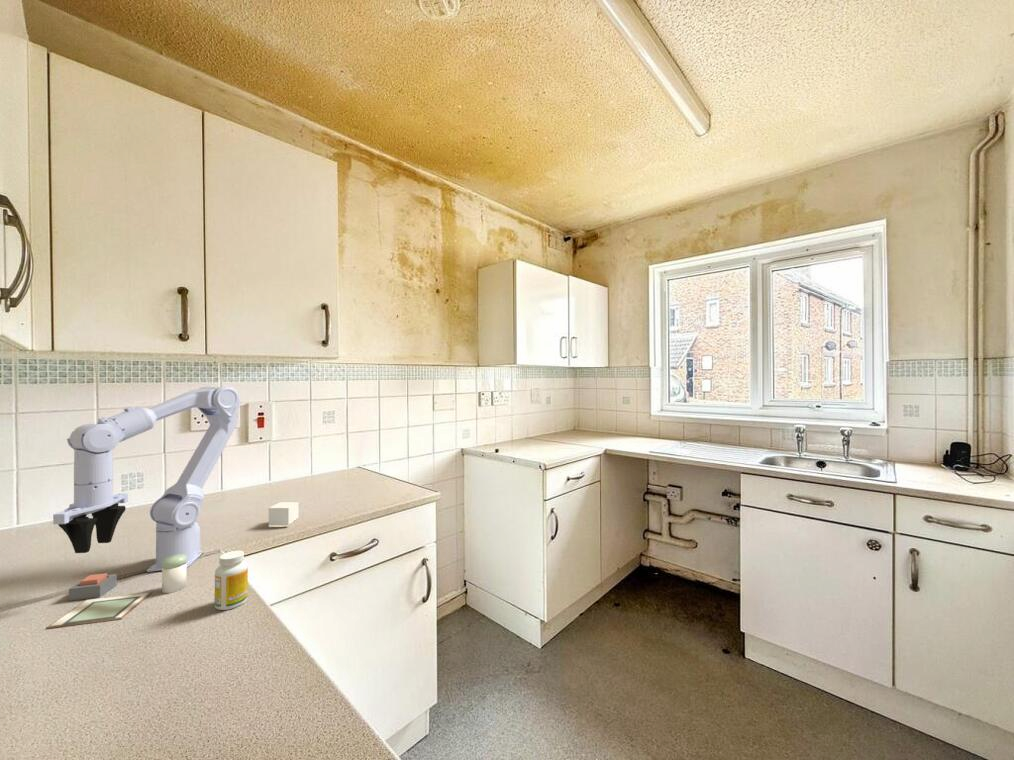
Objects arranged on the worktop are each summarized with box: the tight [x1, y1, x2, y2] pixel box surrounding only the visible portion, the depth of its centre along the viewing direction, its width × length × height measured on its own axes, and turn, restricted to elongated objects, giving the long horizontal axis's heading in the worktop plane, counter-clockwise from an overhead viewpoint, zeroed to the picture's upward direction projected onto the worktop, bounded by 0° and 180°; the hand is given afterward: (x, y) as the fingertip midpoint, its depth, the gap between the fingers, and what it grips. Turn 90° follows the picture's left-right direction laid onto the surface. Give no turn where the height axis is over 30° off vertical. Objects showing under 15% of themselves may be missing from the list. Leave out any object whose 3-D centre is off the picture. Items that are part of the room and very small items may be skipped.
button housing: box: [68, 573, 118, 602], centre depth 84 cm, size 5×5×2 cm
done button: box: [79, 572, 108, 586], centre depth 84 cm, size 3×3×1 cm
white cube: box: [268, 501, 300, 526], centre depth 125 cm, size 6×6×6 cm
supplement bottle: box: [214, 550, 249, 611], centre depth 80 cm, size 5×5×10 cm
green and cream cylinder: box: [161, 554, 187, 594], centre depth 86 cm, size 4×4×6 cm
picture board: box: [45, 591, 153, 630], centre depth 78 cm, size 10×11×1 cm
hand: (93, 547), depth 84 cm, fingers open, 4 cm apart
